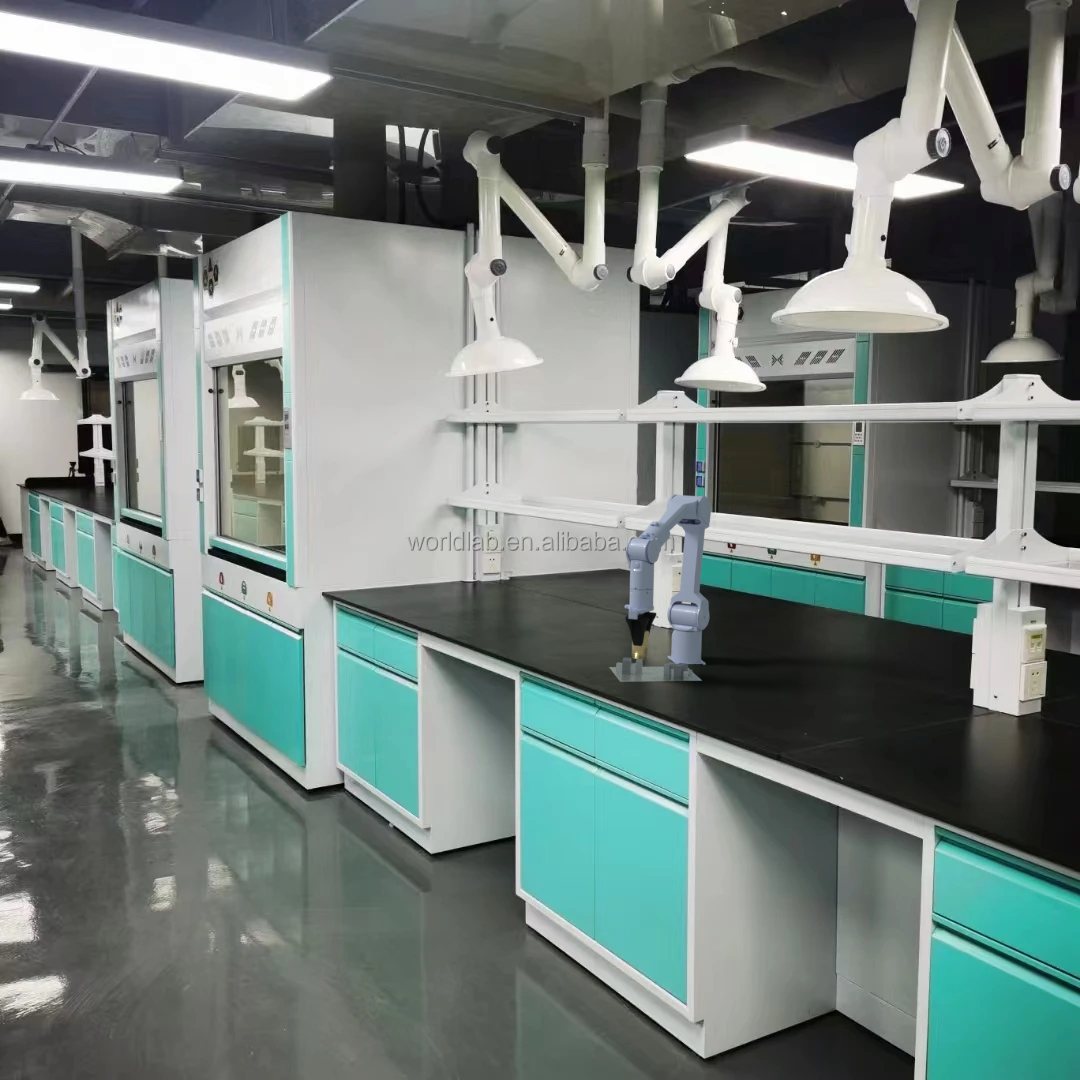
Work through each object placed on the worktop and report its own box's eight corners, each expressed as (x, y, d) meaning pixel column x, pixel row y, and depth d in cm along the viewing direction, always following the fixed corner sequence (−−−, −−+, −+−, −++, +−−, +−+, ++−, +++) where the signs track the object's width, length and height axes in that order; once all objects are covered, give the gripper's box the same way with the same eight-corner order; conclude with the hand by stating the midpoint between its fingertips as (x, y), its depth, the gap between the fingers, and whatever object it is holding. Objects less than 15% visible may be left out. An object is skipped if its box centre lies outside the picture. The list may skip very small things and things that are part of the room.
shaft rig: (609, 668, 259) (609, 653, 258) (686, 667, 261) (686, 653, 261) (620, 683, 244) (620, 667, 244) (701, 682, 246) (702, 666, 246)
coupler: (630, 655, 249) (630, 627, 248) (646, 655, 250) (647, 626, 249) (633, 659, 245) (634, 630, 244) (649, 659, 246) (650, 630, 245)
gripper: (634, 583, 254) (633, 636, 255) (616, 591, 240) (615, 647, 242) (661, 585, 251) (660, 639, 253) (645, 593, 238) (644, 650, 239)
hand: (640, 643), depth 247 cm, fingers closed on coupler, 4 cm apart
